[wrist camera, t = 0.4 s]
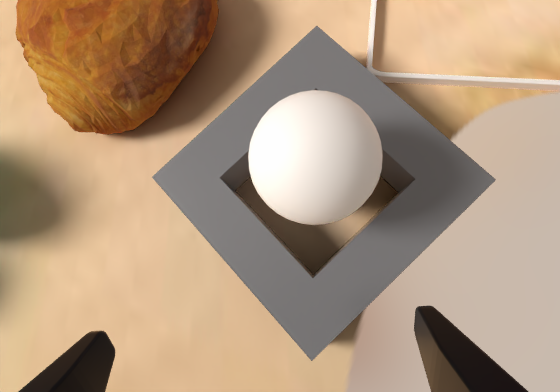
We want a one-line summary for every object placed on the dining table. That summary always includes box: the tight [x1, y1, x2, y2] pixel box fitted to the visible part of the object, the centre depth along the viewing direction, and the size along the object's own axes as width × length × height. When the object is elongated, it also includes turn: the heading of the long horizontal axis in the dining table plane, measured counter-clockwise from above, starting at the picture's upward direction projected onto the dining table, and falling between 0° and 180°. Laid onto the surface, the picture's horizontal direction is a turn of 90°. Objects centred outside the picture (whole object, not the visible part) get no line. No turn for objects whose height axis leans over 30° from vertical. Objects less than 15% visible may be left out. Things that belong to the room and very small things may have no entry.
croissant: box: [16, 0, 218, 135], centre depth 24 cm, size 14×16×8 cm
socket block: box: [152, 26, 495, 361], centre depth 21 cm, size 14×14×4 cm
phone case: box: [366, 0, 560, 94], centre depth 24 cm, size 7×1×15 cm
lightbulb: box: [248, 90, 382, 225], centre depth 18 cm, size 6×6×11 cm
